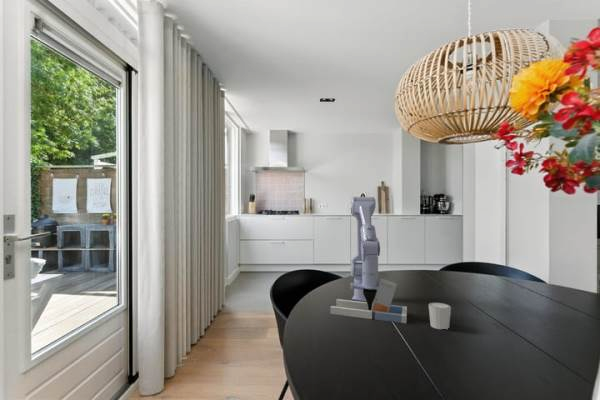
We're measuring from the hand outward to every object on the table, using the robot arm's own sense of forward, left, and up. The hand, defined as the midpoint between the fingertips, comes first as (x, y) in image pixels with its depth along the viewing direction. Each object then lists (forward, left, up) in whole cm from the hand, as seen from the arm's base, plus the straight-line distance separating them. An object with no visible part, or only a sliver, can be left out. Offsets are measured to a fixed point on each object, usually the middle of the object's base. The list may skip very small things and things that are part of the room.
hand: (370, 309), depth 116 cm
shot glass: (+4, +23, -2) cm, 24 cm away
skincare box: (0, +3, -1) cm, 3 cm away
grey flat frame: (0, -1, -1) cm, 2 cm away
